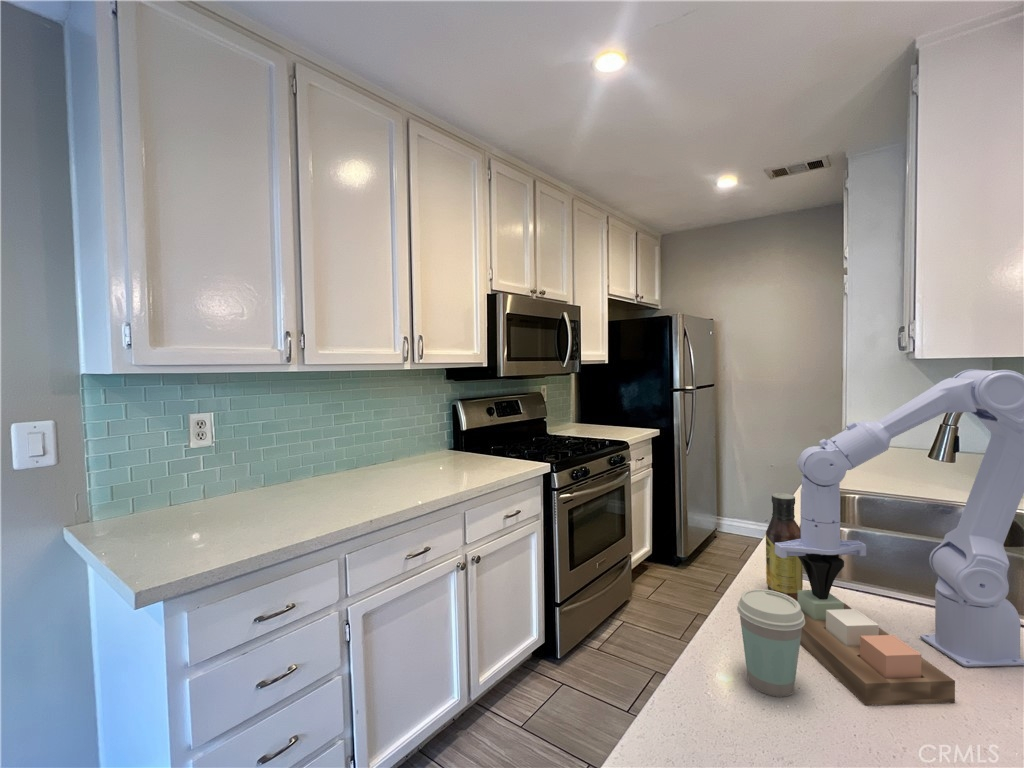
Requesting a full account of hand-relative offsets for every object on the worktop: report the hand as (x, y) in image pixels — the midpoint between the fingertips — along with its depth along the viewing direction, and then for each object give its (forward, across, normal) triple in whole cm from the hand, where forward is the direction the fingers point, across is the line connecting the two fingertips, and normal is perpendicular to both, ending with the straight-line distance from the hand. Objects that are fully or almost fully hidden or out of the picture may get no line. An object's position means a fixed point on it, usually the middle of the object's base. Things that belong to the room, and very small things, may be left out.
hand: (819, 596), depth 83 cm
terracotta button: (+4, 0, +15) cm, 15 cm away
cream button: (+4, 0, +8) cm, 8 cm away
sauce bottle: (+6, -1, -12) cm, 14 cm away
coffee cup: (+6, +16, +14) cm, 22 cm away
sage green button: (+4, 0, 0) cm, 4 cm away
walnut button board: (+6, 0, +8) cm, 9 cm away
